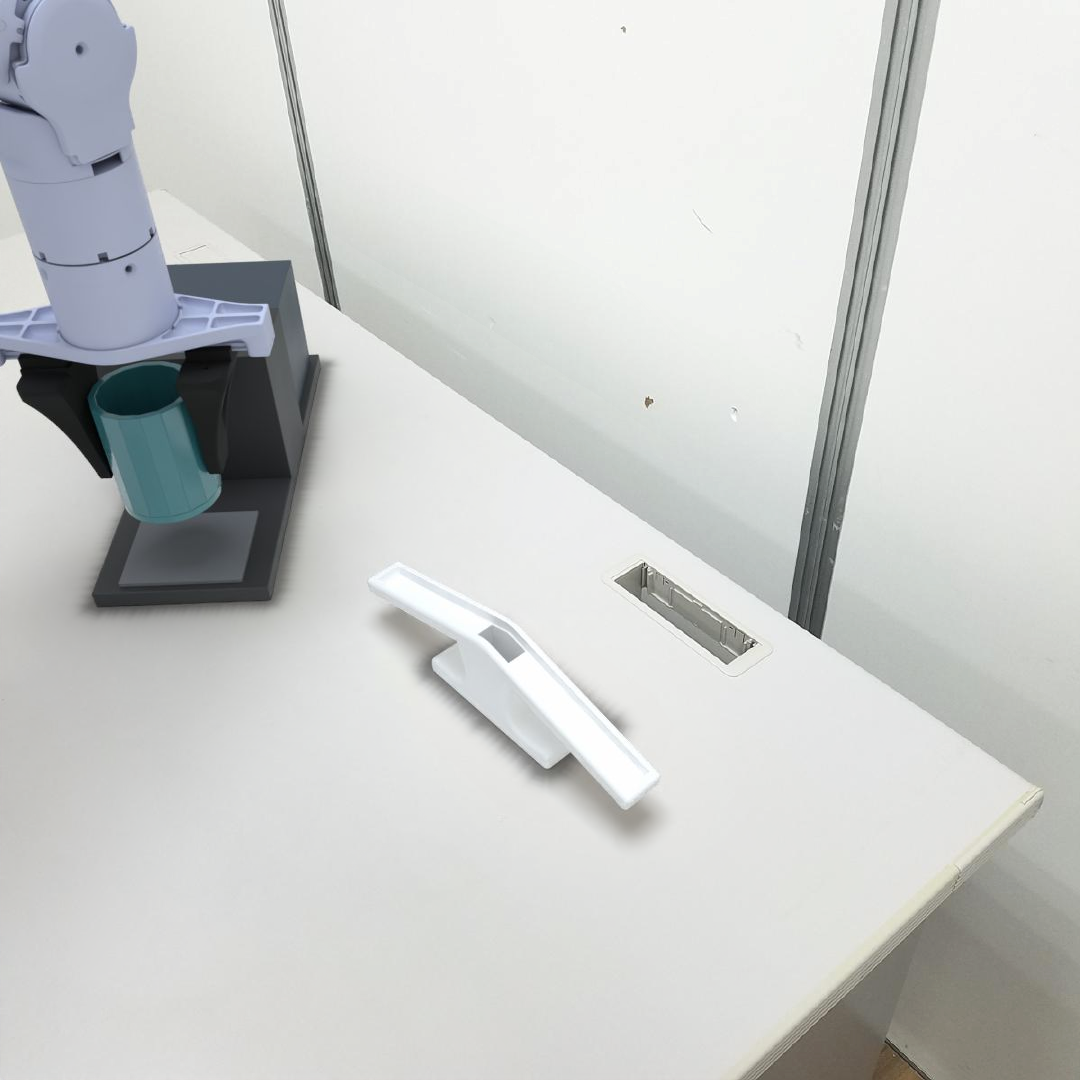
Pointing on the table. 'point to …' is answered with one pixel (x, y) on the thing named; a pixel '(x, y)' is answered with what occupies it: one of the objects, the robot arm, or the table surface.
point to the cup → (152, 443)
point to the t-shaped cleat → (518, 684)
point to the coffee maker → (229, 460)
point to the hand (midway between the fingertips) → (165, 465)
